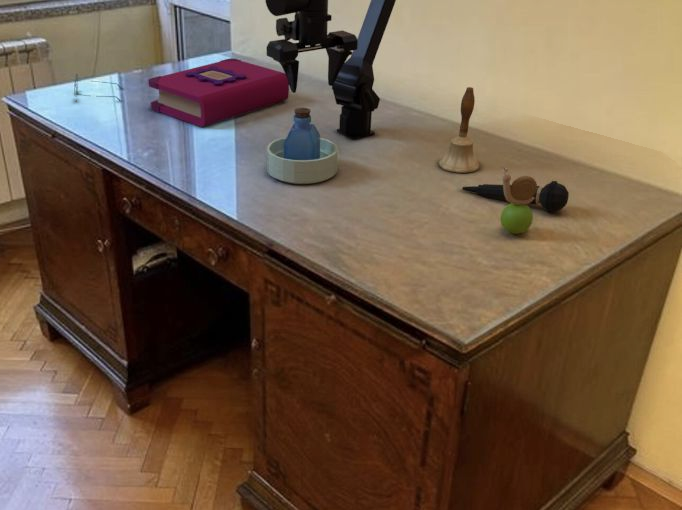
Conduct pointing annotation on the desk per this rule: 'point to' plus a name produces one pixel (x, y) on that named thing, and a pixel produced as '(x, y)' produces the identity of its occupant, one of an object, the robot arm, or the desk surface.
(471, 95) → the hand bell
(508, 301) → the desk surface
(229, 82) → the book
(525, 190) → the snail figurine
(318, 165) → the bowl
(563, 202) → the microphone
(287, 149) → the perfume bottle
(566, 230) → the desk surface
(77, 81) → the eyeglasses
